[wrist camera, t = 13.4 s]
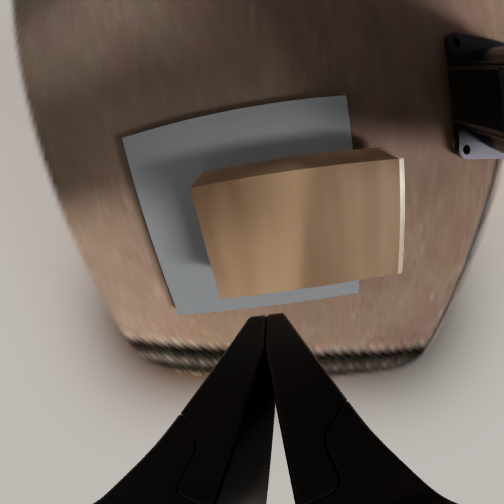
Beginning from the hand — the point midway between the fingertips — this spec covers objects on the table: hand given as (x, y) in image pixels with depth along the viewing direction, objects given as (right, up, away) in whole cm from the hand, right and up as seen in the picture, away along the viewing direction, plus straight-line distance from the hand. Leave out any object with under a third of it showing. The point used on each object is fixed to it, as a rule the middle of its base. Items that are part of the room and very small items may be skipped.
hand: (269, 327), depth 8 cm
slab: (-2, +3, +6) cm, 7 cm away
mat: (0, +4, +7) cm, 8 cm away
